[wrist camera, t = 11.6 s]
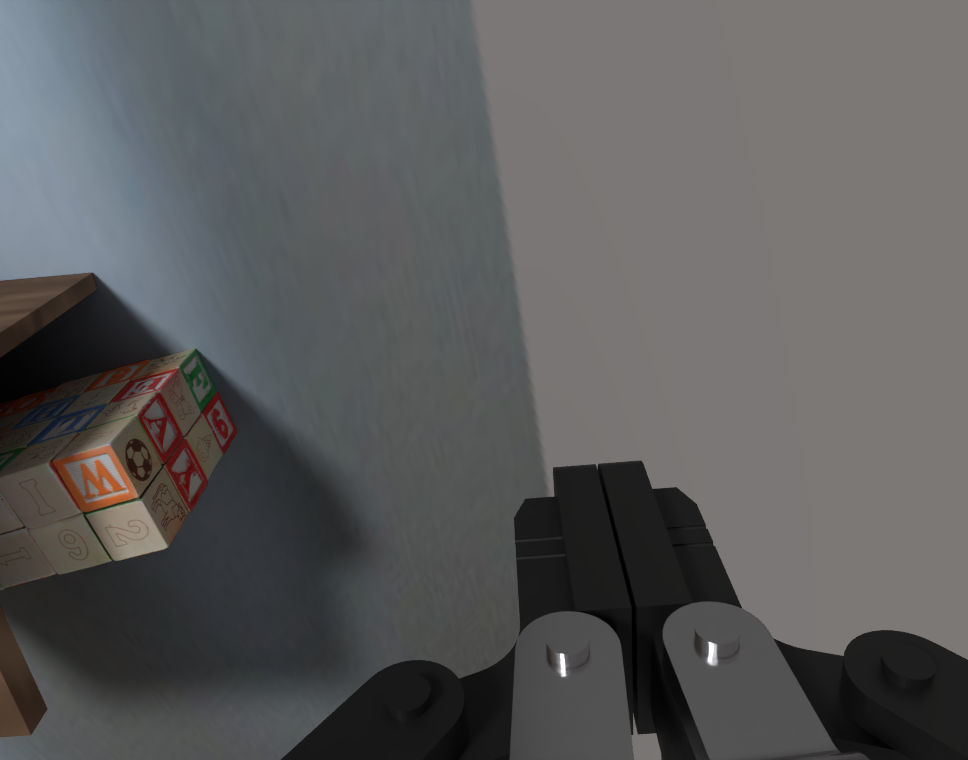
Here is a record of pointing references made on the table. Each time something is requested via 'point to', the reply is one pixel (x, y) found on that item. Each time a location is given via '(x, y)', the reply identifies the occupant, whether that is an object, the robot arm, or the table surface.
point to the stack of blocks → (106, 465)
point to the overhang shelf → (3, 325)
